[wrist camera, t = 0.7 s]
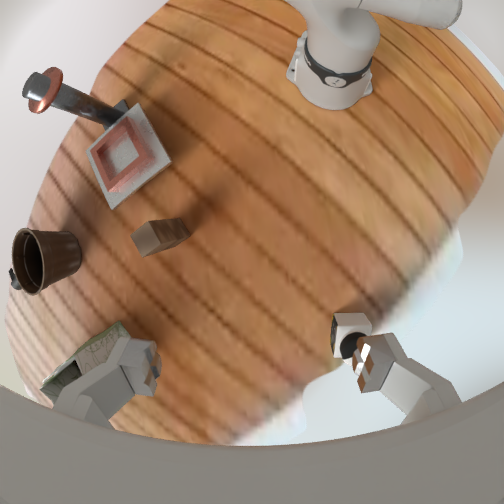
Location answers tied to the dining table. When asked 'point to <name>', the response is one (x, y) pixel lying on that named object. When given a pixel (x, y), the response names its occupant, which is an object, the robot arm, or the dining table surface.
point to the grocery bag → (83, 360)
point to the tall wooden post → (159, 235)
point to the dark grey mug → (14, 280)
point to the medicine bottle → (348, 333)
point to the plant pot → (44, 258)
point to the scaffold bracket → (106, 135)
